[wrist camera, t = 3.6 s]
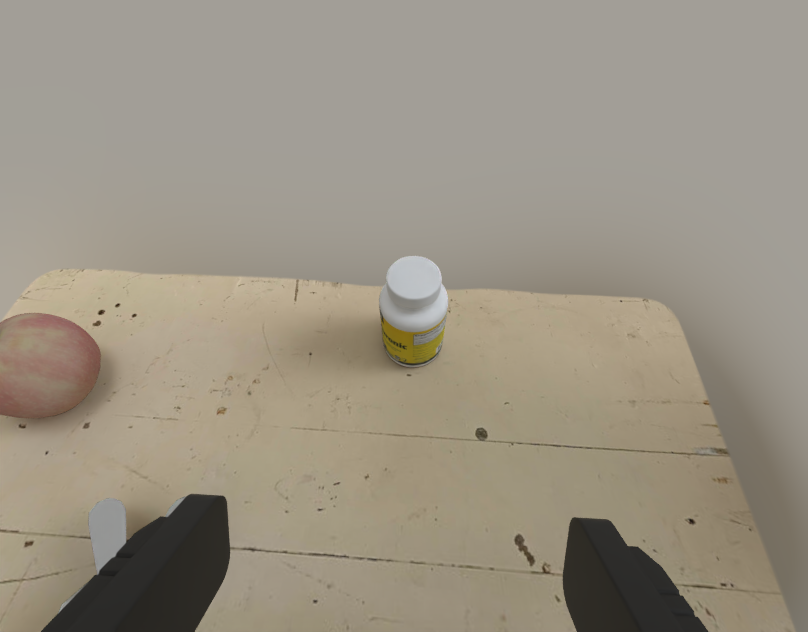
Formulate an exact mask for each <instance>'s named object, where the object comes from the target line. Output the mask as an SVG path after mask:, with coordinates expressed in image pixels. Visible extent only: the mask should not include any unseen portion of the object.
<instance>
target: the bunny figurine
mask: <svg viewBox="0 0 808 632" xmlns="http://www.w3.org/2000/svg"><path fill="white" fill-rule="evenodd" d="M186 497H187V496H186ZM184 498H185V497H182V498H180V499H178V500H176V502H175V503H174V504H173V505H172V506H171V507H170V508H169V510H168V512H167V514H166V516H165V517H168V516H169V515H170V514H171V513H172V512H173V511H174V510H175V508H176V507H177V506H178V505H179V504H180V503H181V502H182V501H183V500H184ZM88 525H89V531H90V536H91V542H92V548H93V553H94V558H95V564H96V569H97V575H98V574H99V570H100V569H101V568H102V567H103V566H104V565H105V564H106V563H107V562H108V561H109V560H110V559H111V558H112V557H115V556H116V553H117V552H118V551H119V550H120V549H121V547H122V546H123V545H124V544H125V543H126V509H125V507H124V505H123V504H122V502H121V501H119V500H117V499H113V498H107V499H105V500H103V501H100V502H98V503H97V504H96V505H95V506H94V507H93V509H92V510H91V511H90V512H89V522H88ZM87 583H88V582H87ZM87 583H86V584H87ZM86 584H85V585H86ZM85 585H84V586H85ZM84 586H83V587H84ZM83 587H82V588H83ZM82 588H80V589H79V590H78V591H77V592H76V593H75V594H73V595H72V596H71V597H70V598H69V599H67V600H66V601H65V602H64V603H63V604H62V605H61V607H60V610H59V612H60V611H61V610H62V609H63V608H64V607H65V606H66V605H67V604H68V603H69V602H70V601H71V600H72V599H73V598H74V597H75V595H76V594H77V593H78V592H79V591H80V590H81V589H82ZM59 612H58V613H59Z"/></svg>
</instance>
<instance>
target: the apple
mask: <svg viewBox="0 0 808 632" xmlns="http://www.w3.org/2000/svg"><path fill="white" fill-rule="evenodd" d="M100 358H101V354H100V350H99V347H98V345H97V344H96V342H95V341H94V339H93V338H92V337H91V336H90V335H89V334H88V333H87V332H86V331H85V330H84V329H82V328H81V327H80V326H78V325H76V324H75V323H73V322H71V321H69V320H67V319H64V318H61V317H58V316H54V315H49V314H42V313H26V314H20V315H16V316H13V317H11V318H8V319H6V320H4V321H3V322H1V323H0V414H1V415H6V416H12V417H19V418H41V417H49V416H54V415H58V414H61V413H64V412H66V411H68V410H70V409H72V408H74V407H75V406H76V405H78V404H79V403H80V402H81V401H82V400H83V399H84V398H85V397H86V396H87V395H88V394H89V392H90V391H91V390H92V388H93V387H94V385H95V383H96V380H97V377H98V374H99V370H100Z"/></svg>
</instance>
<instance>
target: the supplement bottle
mask: <svg viewBox="0 0 808 632" xmlns="http://www.w3.org/2000/svg"><path fill="white" fill-rule="evenodd" d="M441 281H442V277H441V272H440V270H439V268H438V267H437V265H436V264H435V263H433V262H432V261H431V260H429V259H427V258H424V257H420V256H407V257H403V258H401V259H399V260H397V261H395V262H394V263H393V264H392V265H391V266H390V268H389V270H388V272H387V275H386V282H387V283H386V284H385V285H384V287H383V288H382V291H381V293H380V298H379V307H380V315H381V325H382V334H383V343H384V347H385V350H386V352H387V354H388V355H389V357H390V358H391V359H392V360H393V361H395V362H396V363H398V364H400V365H402V366H406V367H420V366H424V365H426V364H428V363H430V362H431V361H433V360H434V359H435V358H436V357H437V355H438V354H439V352H440V350H441V347H442V342H443V336H444V329H445V322H446V315H447V309H448V296H447V292H446V290H445V288H444V286H443V285H442V283H441Z"/></svg>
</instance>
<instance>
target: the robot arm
mask: <svg viewBox="0 0 808 632" xmlns="http://www.w3.org/2000/svg"><path fill="white" fill-rule="evenodd" d="M229 559H230V543H229V527H228V512H227V501H226V499H225V497H224V496H218V495H201V494H190V495H188V496H187V497H185V498H184V500H183V501H182V502H181V503H180V504H179V505H178V506H177V507H176V508H175V510H174V511H173V512H172V513H171V514H170V515H169V516H168V517H159V518H158V519H156V520H155V521H153V522H151V523H150V524H148V525H147V526H145V527H144V528H142V529H141V530H139V531H138V532H136V533H135V534H134V535H133V536H132V537H131V538H130V539H129V540H128V541H127V542H126V543H125V544H124V545H123V546H122V547H121V549H120V550H119V551H118V552H117V553H116V556H115V557H112V558H111V559H110V560H109V561H108V562H107V563H106V564H105V565H104V566H103V567H102V568H101V569H100V570H99V574H98V575H95V576H94V577H93V578H92V579H91V580H90V581H89V582H88V583H87V584H86V585H85V586H84V587H83V588H82V589H81V590H80V591H79V592H78V593H77V594H76V595H75V597H74V598H73V599H72V600H71V601H70V602H69V603H68V604H67V605H66V606H65V607H64V608H63V609H62V610H61V611H60V612H59V613H58V614H57V615H56V616H55V617H54V618H53V619H52V620H51V622H50V623H49V624H48V625H47V626H46V627H45V628H44V629H43V630H42V631H41V632H195V630H196V628H197V626H198V625H199V623H200V621H201V619H202V618H203V616H204V614H205V612H206V611H207V609H208V607H209V605H210V604H211V602H212V600H213V598H214V597H215V595H216V593H217V591H218V590H219V588H220V586H221V584H222V582H223V580H224V578H225V575H226V572H227V569H228V564H229ZM563 589H564V596H565V600H566V604H567V607H568V610H569V613H570V615H571V618H572V620H573V623H574V625H575V628H576V631H577V632H708V630H707V629H706V628H705V626H704V625H703V624H702V622H701V621H700V619H699V618H698V617H695V615H694V611H693V610H692V608H691V607H690V606H689V604H688V603H687V601H686V600H685V599H684V597H683V596H680V594H679V590H678V589H677V588H676V586H675V585H674V583H673V582H672V581H671V579H670V578H669V576H668V575H667V574H666V572H665V571H664V570H663V568H662V567H661V566H660V565H659V564H657V563H656V562H655V561H654V560H653V559H652V558H650V557H649V556H648V555H647V554H646V553H644V552H643V551H642V550H641V549H640V548H638V547H633V546H627V544H626V543H625V541H624V540H623V538H622V537H621V535H620V534H619V532H618V531H617V529H616V528H615V526H614V525H613V524H612V522H611V521H609V520H607V519H592V518H575V517H574V518H572V520H571V522H570V526H569V533H568V540H567V548H566V555H565V562H564V570H563Z"/></svg>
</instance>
